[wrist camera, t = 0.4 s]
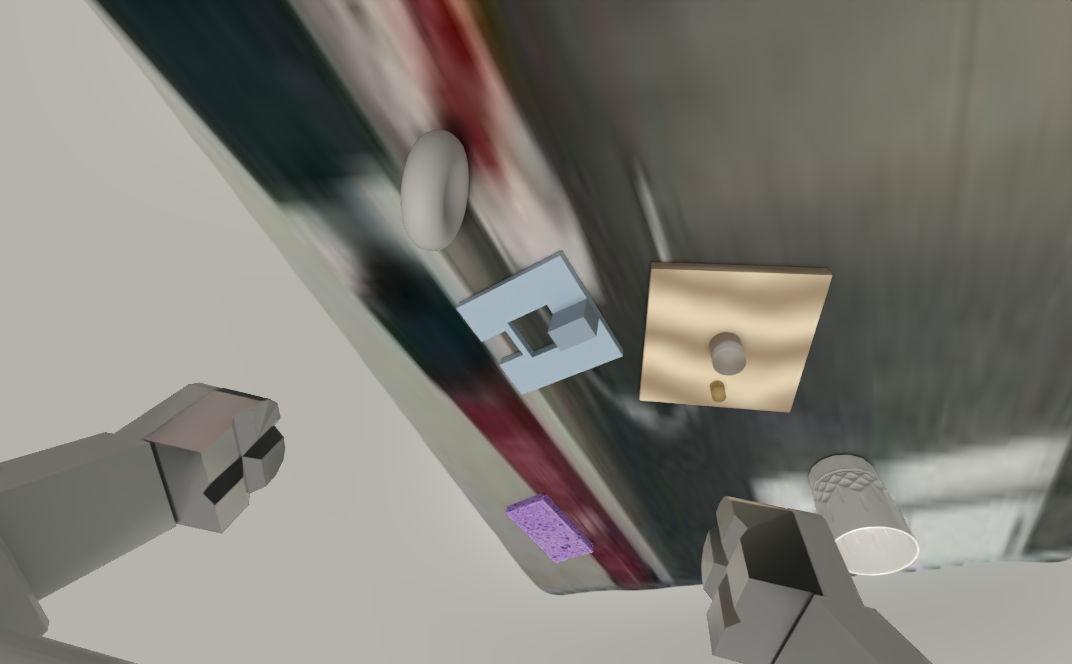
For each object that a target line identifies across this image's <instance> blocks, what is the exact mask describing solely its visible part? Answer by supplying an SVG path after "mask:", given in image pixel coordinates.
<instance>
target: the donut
mask: <svg viewBox="0 0 1072 664" xmlns="http://www.w3.org/2000/svg"><path fill="white" fill-rule="evenodd" d="M468 188H469V168H468V161H467V156H466V153H465V150H464V147H463V145H462V144H461V142H460V141H459V140H458V139H457V138H456V137H455V136H454V135H453V134H451V133H450V132H447V131H445V130H436V131H430V132H427V133H425V134H424V135H423V136H422V137H421V138H420V139H419V140H418V141H417V142H416V143H415V144H414V146H413V148H412V150H411V152H410V154H409V156H408V159H407V162H406V166H405V169H404V173H403V179H402V186H401V211H402V219H403V224H404V227H405V230H406V233H407V235H408V236H409V238H410V239H411V240H412V242H413V243H414V244H415V245H416V246H417V247H419V248H421V249H423V250H428V251H439V250H442V249H443V248H445V247H446V246H448V245H449V244H450V243H451V242H452V241H453V239H454V238H455V236H456V235H457V233H458V231H459V229H460V226H461V224H462V221H463V217H464V214H465V210H466V204H467V198H468Z"/></svg>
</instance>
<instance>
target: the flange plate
mask: <svg viewBox="0 0 1072 664" xmlns="http://www.w3.org/2000/svg"><path fill="white" fill-rule="evenodd" d="M545 305H547V306H548V307H549V309H550V310H551V312H552V313H553V316H552V319H551V323H550V326H549V330H548V333H549V335H550V336H551V338H552V339H553V341H554V342H555V343H553V344H551V345H548V346H546V347H543V348H541V349H539V350H536V351H533V349H532V348H531V346H530V345H529V344H528V342H527V341H526V339H525V338H524V337H523V335H522V334H521V332H520V331H519V330H518V328H517V327H516V325H515V324H514V323H513V320H515V319H517V318H519V317H521V316H523V315H525V314H528V313H530V312H532V311H534V310H536V309H538V308H540V307H543V306H545ZM456 309H457V310H458V311H459V313H460V314H461V315H462V317H463V318H464V319H465V321H466V322H467V323H468V325H469V326H470V327H471V329H472V330H473V331H474V332H475V334H476V335H477V336H478V338H479V339H480V340H481V342H482V341H485V340H487V339H489V338H491V337H493V336H496V335H498V334H500V333H502V332H504V331H506V332H507V333H508V335H509V336H510V337H511V339H512V340H513V341H514V343H515V344H516V345H517V347H518V348H519V350H520V351H519V352H517V353H514V354H512V355H510V356H507V357H505V358H503V359H502V360H501V362H500V367H501V368H502V369H503V370H504V372H505V373H506V374H507V376H508V377H509V378H510V380H511V381H512V382H513V384H514V385H515V386H516V388H517V389H518V390H519V391H520V393H521V394H522V395H523V394H526V393H528V392H531V391H533V390H536V389H539V388H541V387H544V386H546V385H549V384H552V383H554V382H557V381H559V380H562V379H565V378H567V377H570V376H572V375H575V374H578V373H580V372H583V371H585V370H588V369H591V368H593V367H596V366H598V365H601V364H603V363H606V362H609V361H611V360H614V359H616V358H619V357H622V356H623V348H622V347H621V345H620V344H619V342H618V340H617V339H616V337H615V336H614V334H613V332H612V331H611V329H610V327H609V326H608V324H607V323H606V321H605V319H604V318H603V316H602V315H601V313H600V311H599V310H598V308H597V307H596V305H595V303H594V302H593V300H592V299H591V297H590V295H589V294H588V292H587V290H586V289H585V287H584V286H583V284H582V282H581V281H580V279H579V278H578V276H577V274H576V273H575V271H574V270H573V268H572V266H571V265H570V263H569V261H568V260H567V258H566V257H565V255H564V253H563V252H562V251H560V252H558V253H556V254H554V255H552V256H550V257H548V258H546V259H544V260H542V261H540V262H538V263H536V264H534V265H533V266H531V267H529V268H527V269H525V270H523V271H521V272H519V273H517V274H515V275H513V276H511V277H509V278H507V279H505V280H503V281H501V282H499V283H497V284H495V285H494V286H492V287H490V288H488V289H486V290H484V291H482V292H480V293H478V294H476V295H474V296H472V297H470V298H468V299H466V300H464V301H462V302H460V303H459V305H458V306H457V308H456Z"/></svg>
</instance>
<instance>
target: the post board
mask: <svg viewBox="0 0 1072 664" xmlns="http://www.w3.org/2000/svg"><path fill="white" fill-rule="evenodd" d="M831 278H832V274H831V273H830V271H829V270H828V268H814V267H785V266H756V265H727V264H698V263H669V262H651V272H650V283H649V294H648V305H647V316H646V327H645V338H644V349H643V360H642V371H641V382H640V400H642V401H655V402H667V403H679V404H692V405H704V406H716V407H729V408H741V409H754V410H766V411H778V412H790V410H791V407H792V404H793V400H794V397H795V394H796V391H797V388H798V384H799V381H800V378H801V375H802V371H803V368H804V365H805V362H806V359H807V355H808V352H809V349H810V346H811V343H812V339H813V336H814V333H815V330H816V326H817V323H818V320H819V317H820V314H821V310H822V307H823V304H824V301H825V298H826V294H827V291H828V288H829V285H830V282H831Z"/></svg>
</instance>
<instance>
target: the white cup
mask: <svg viewBox="0 0 1072 664" xmlns="http://www.w3.org/2000/svg"><path fill="white" fill-rule="evenodd" d="M808 478H809V482H810V485H811V488H812V492H813V495H814V502H815V507H816V511H817V514H820V515H821V516H822V517H823V518H824V519H825V520H826V521H827V524H828V526H829V528H830V530H831V533H832V535H833V537H834V539H835V542H836V544H837V546H838V548H839V551H840V553H841V555H842V557H843V560H844V562H845V564H846V566H847V568H848V571H849V572H850V573H854V574H859V575H884V574H889V573H893V572H896V571H899V570H902V569H904V568H906V567H907V566H909V565H910V564H912V563H913V562H914V561H915V560H916V558H917V557H918V555H919V552H920V547H919V543H918V542H917V540H916V538H915V536H914V535H913V533H912V531H911V530H910V528H909V526H908V524H907V523H906V521H905V519H904V517H903V516H902V514H901V512H900V510H899V509H898V507H897V505H896V504H895V502H894V500H893V499H892V497H891V496H890V494H889V492H888V490H887V489H886V487H885V486H884V485H883V483H882V482H881V481H880V479H879V477H878V475H877V474H876V472H875V470H874V468H873V467H872V465H871V464H870V463H868V462H867V461H866V460H864V459H863V458H861V457H857V456H853V455H833V456H831V457H828V458H825V459H822V460H820V461H819V462H818V463H817V464H815V465H814V466H813V467H812V468H811V471H810V473H809V476H808Z"/></svg>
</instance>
